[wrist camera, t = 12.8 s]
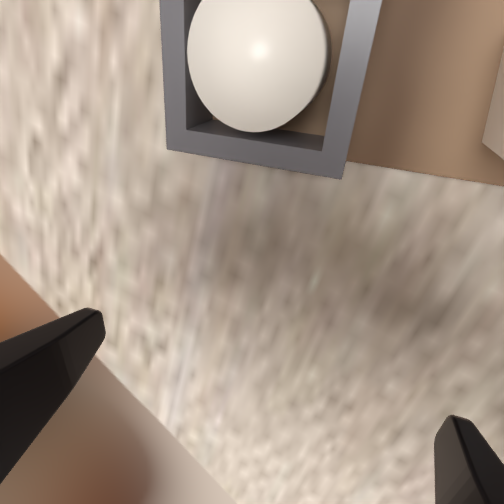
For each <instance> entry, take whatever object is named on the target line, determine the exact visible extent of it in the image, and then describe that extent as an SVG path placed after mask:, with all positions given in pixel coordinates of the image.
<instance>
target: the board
mask: <svg viewBox="0 0 504 504" xmlns="http://www.w3.org/2000/svg"><path fill="white" fill-rule="evenodd" d="M312 1H313V2H314V3H315V4H316V5H317V7H318V8H319V10H320V11H321V12H322V14H323V16H324V18H325V20H326V22H327V25H328V28H329V31H330V36H331V43H332V58H331V65H330V70H329V73H328V76H327V79H326V82H325V84H324V86H323V88H322V89H321V91H320V92H319V94H318V95H317V97H316V98H315V99H314V100H313V101H312V102H311V103H310V104H309V105H308V106H307V107H306V108H305V109H303V110H302V111H301V112H300V113H298V114H297V115H296V116H295V117H293V118H292V119H291V120H289V121H288V122H287V123H285V124H283V125H281V126H279V127H277V128H275V129H281V130H288V131H295V132H302V133H308V134H315V135H322V136H325V132H326V127H327V121H328V116H329V111H330V105H331V100H332V95H333V89H334V84H335V79H336V73H337V68H338V63H339V57H340V52H341V47H342V42H343V36H344V31H345V26H346V20H347V15H348V10H349V4H350V0H312ZM503 49H504V0H382V4H381V9H380V13H379V17H378V22H377V26H376V31H375V35H374V39H373V44H372V48H371V53H370V57H369V61H368V66H367V70H366V74H365V79H364V83H363V88H362V92H361V96H360V101H359V105H358V110H357V114H356V118H355V123H354V127H353V131H352V136H351V140H350V145H349V149H348V153H347V158H346V161H350V162H357V163H363V164H369V165H375V166H381V167H388V168H394V169H400V170H406V171H412V172H419V173H425V174H431V175H437V176H443V177H450V178H456V179H462V180H468V181H474V182H481V183H487V184H493V185H499V186H504V160H503V159H502V158H501V157H500V156H498V155H497V154H496V153H495V152H493V151H492V150H491V149H490V148H488V147H487V146H486V145H485V144H483V143H482V139H483V135H484V131H485V126H486V122H487V118H488V113H489V109H490V105H491V100H492V96H493V92H494V87H495V83H496V79H497V74H498V70H499V66H500V61H501V57H502V53H503ZM213 119H214V120H219V119H217V118H216V117H215V116H214V115H213Z"/></svg>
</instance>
